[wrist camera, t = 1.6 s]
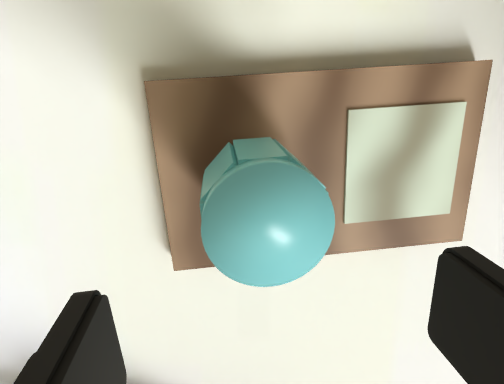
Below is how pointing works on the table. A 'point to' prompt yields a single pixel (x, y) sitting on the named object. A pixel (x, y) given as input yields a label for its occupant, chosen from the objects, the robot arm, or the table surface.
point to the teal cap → (263, 214)
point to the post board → (332, 146)
